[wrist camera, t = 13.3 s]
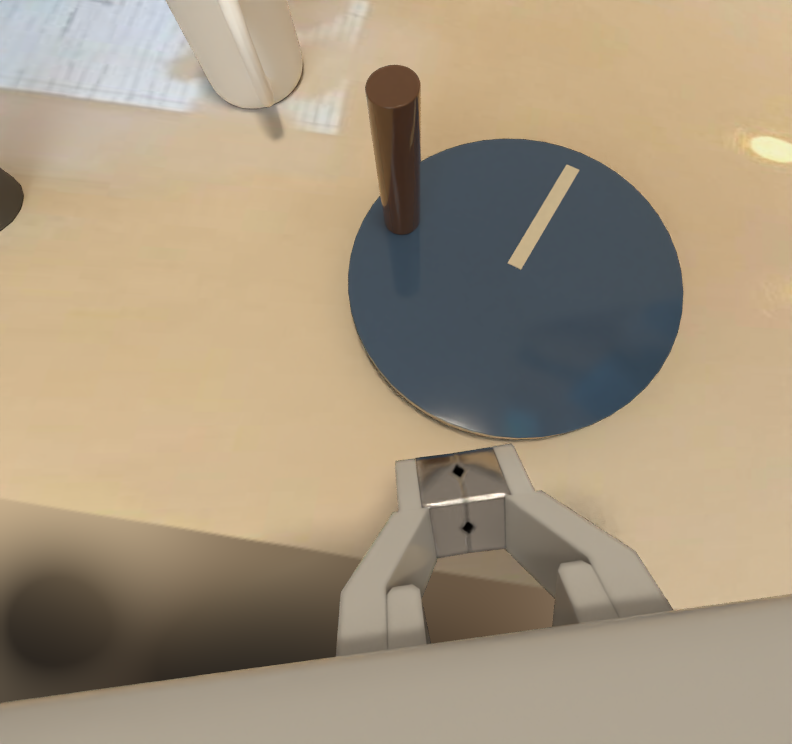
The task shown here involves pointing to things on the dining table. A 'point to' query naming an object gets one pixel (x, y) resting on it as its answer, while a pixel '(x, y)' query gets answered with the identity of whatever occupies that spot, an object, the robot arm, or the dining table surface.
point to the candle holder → (9, 198)
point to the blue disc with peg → (507, 278)
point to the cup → (243, 47)
